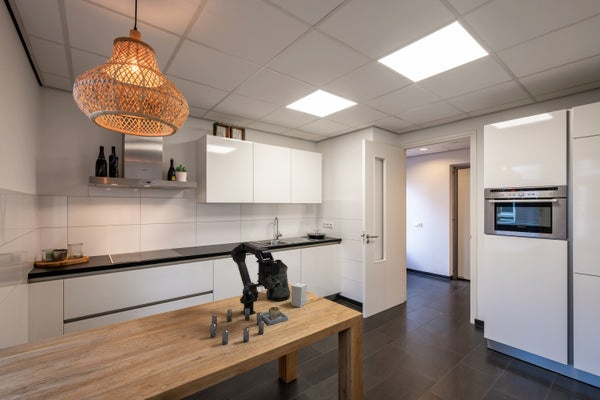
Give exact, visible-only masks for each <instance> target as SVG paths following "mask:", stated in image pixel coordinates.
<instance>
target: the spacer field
mask: <svg viewBox="0 0 600 400" xmlns="http://www.w3.org/2000/svg"><path fill="white" fill-rule="evenodd" d="M250 317H251V314H250V308H245V315H244V321H250ZM226 318H227V319H226V322H227V323H231V322H232V321H233V309H232V308H229V309H227V311H226ZM264 325H265V321H264V320H263V319H262V312H260V311H259V312H256V326H258V329H257V331H258V333H257V334H258V335H264V333H265V331H264V330H265V329H264V328H265V326H264ZM209 327H210V328H209V338H210V339H214V338H216V337H217V328H218V315H217V314H212V315H211V323H210V325H209ZM242 333H243V335H242V337H243V338H242V342H243V343H249V341H250V327H248V326H245V327H243V332H242ZM221 334H222V335H221V345H222V346H227V345H228V344H229V329H227V328H224V329H222V333H221Z"/></svg>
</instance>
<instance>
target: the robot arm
mask: <svg viewBox="0 0 600 400" xmlns="http://www.w3.org/2000/svg"><path fill="white" fill-rule="evenodd" d="M247 253H249V254H252V255H254V257H255V258H256V259H257V260H256V261H255V262H256V263H257V264H258V265H257V266H258V269H257V270H258V271H257V280H256V282H257V283H254V282H253V281H252V279H251V277H250V273H249V270H248V267H247V264H246V263H247V262H246V258H247ZM230 256H231V258H232V261H233V262H234V263H235V264H236V266H237V268H238V271H239V275H240V278H241V283H242V287H243V289H242V296H241V297H240V298H239V302H240V304H241V305H243V310H241V311H240V312H241V313H242V314H243V315H244V316H245V308H250V315H253V314H257V312H256V311H255V310H254V306H255V305H254V303H256V302H257V301H258V298H259V290H258V288H261V287H263V288H264V289H265V290H267V289H269V295H270V299H271V298H272V295H273V293H274V290H275V289H276V288H277V287H278V286H280V281H279V280H278V279H276V278H270V274H271V275H274V276H276V275H277V274H278V273H279V271H280V268H279V266H278V265H277V262H273V261H275V259H274V256H273V253H272V252H271V250H270V249H269V248H268V247H258V246H256V245H253V244H250V243H249V242H241V243H239V245H237V246H236V247H234V248H233V249H231V251H230Z"/></svg>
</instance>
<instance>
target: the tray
mask: <svg viewBox="0 0 600 400" xmlns="http://www.w3.org/2000/svg"><path fill="white" fill-rule="evenodd" d="M261 313H262V312H261ZM262 320H263V321H264V323H266V324H268V326H273V325H276V324H279V323H284V322H287V321H289V316H287V315H286V314H285V313H284V312H282V311H281V310H280V318H279V319H275V320H271V319H269V311H267V312H263V313H262Z"/></svg>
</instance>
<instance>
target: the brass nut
mask: <svg viewBox="0 0 600 400" xmlns="http://www.w3.org/2000/svg"><path fill="white" fill-rule="evenodd" d="M280 311H281V310H280V307H278V306H271V307H270V308H269V309H268V312H269V319H271V320H275V319H279V318H280Z"/></svg>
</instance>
